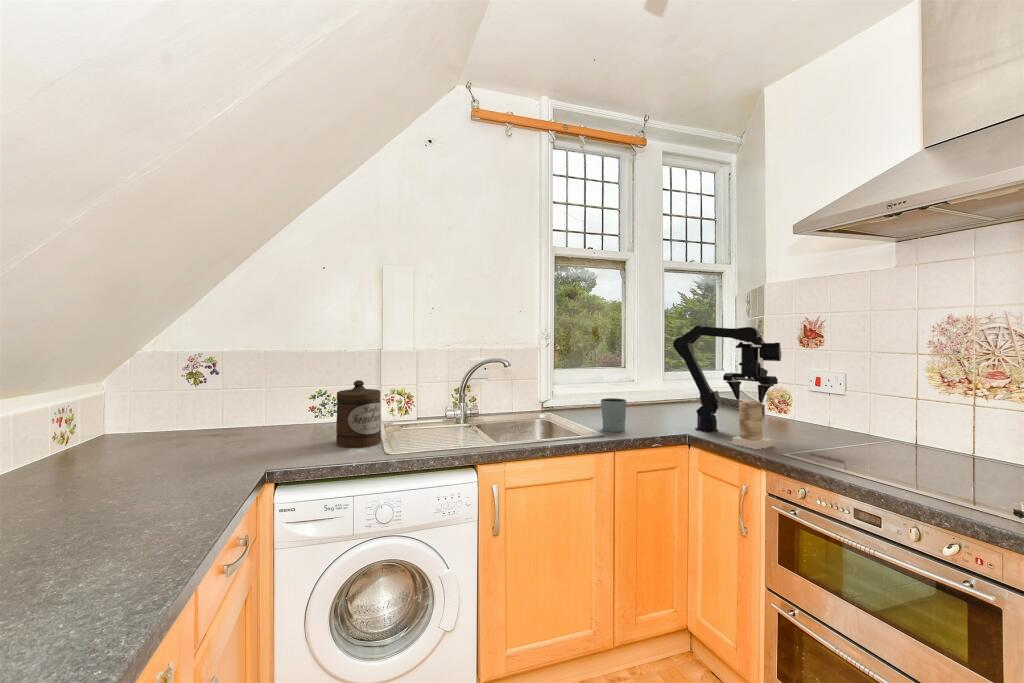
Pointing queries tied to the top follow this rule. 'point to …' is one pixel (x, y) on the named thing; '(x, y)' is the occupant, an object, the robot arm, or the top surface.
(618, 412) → the grey green cup
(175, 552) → the top surface
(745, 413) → the oak block
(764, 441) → the cream base block
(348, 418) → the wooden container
